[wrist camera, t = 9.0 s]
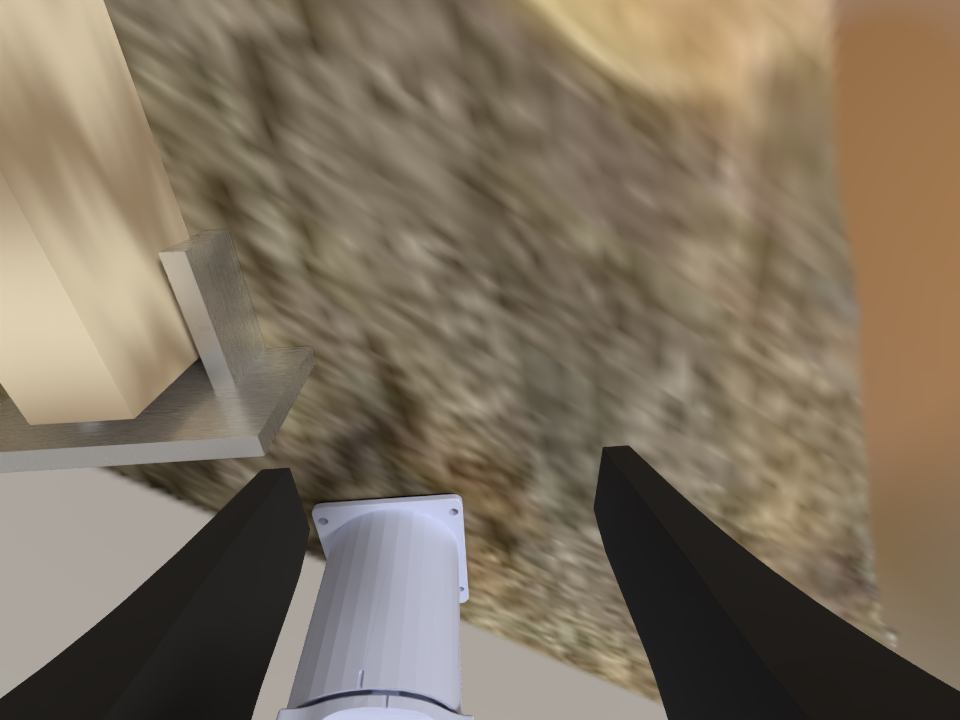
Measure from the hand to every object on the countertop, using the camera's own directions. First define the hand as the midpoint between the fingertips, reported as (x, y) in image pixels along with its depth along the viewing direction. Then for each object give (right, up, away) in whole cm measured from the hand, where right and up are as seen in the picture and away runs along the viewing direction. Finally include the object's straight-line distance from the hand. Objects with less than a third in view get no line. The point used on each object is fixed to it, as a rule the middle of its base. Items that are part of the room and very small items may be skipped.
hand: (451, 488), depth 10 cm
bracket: (-12, +5, +7) cm, 15 cm away
